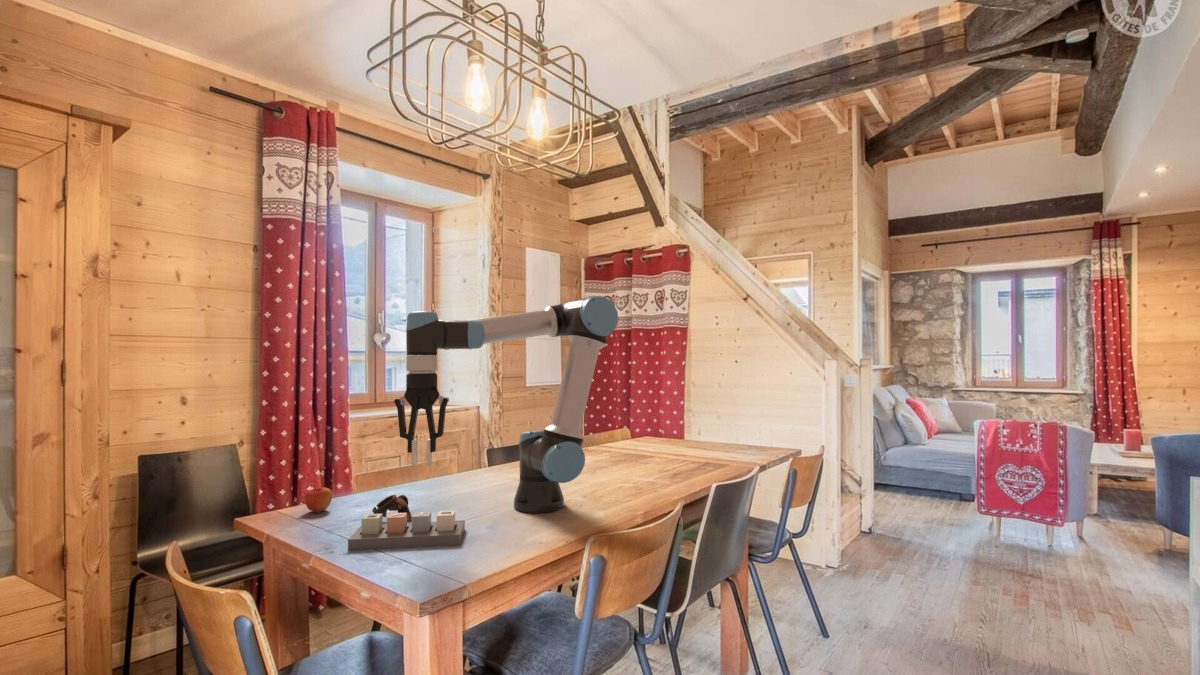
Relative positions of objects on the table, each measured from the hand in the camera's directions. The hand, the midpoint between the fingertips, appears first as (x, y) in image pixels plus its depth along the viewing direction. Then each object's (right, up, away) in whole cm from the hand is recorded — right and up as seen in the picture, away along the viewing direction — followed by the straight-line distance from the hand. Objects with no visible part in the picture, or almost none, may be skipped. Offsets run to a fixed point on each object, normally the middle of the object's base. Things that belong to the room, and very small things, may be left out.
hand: (421, 465), depth 145 cm
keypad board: (-3, -19, -1) cm, 19 cm away
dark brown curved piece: (-12, -19, +16) cm, 28 cm away
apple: (-38, -20, +25) cm, 50 cm away
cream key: (+6, -16, 0) cm, 17 cm away
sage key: (-12, -16, -2) cm, 20 cm away
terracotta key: (-6, -16, -1) cm, 17 cm away
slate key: (0, -16, 0) cm, 16 cm away
